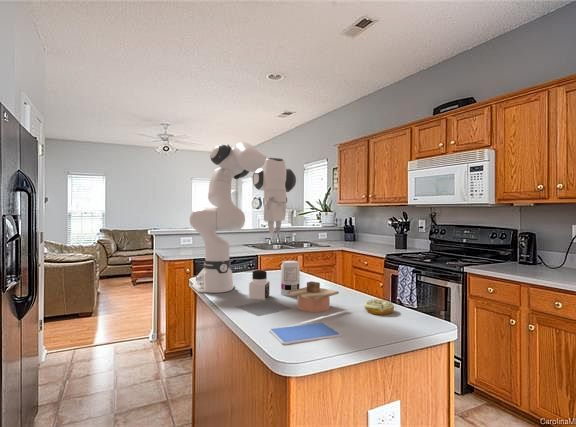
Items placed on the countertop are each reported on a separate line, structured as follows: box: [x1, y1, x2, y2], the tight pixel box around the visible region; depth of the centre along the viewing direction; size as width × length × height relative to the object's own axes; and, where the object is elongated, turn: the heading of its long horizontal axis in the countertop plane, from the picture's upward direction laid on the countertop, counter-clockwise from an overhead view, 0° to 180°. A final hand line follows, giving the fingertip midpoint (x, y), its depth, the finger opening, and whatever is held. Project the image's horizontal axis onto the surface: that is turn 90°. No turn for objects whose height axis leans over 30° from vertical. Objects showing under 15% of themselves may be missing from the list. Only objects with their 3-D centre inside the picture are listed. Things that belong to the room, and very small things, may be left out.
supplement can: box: [280, 260, 301, 297], centre depth 156 cm, size 8×8×15 cm
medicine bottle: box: [248, 269, 270, 301], centre depth 151 cm, size 7×7×12 cm
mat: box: [234, 299, 293, 317], centre depth 135 cm, size 16×16×1 cm
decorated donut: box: [363, 298, 395, 316], centre depth 132 cm, size 10×11×4 cm
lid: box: [288, 281, 340, 300], centre depth 135 cm, size 14×14×4 cm
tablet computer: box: [269, 322, 342, 346], centre depth 108 cm, size 19×13×1 cm, turn 112°
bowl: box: [296, 296, 331, 313], centre depth 135 cm, size 12×12×6 cm
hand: (274, 232), depth 140 cm, fingers open, 8 cm apart
